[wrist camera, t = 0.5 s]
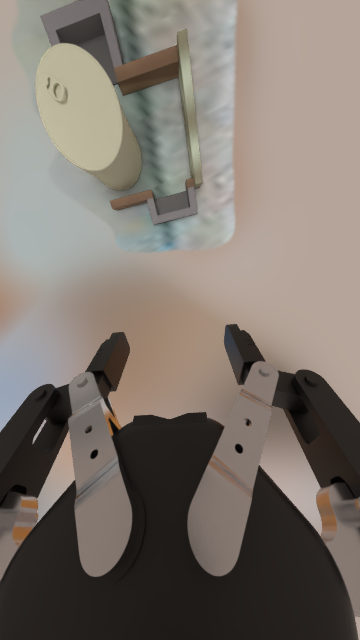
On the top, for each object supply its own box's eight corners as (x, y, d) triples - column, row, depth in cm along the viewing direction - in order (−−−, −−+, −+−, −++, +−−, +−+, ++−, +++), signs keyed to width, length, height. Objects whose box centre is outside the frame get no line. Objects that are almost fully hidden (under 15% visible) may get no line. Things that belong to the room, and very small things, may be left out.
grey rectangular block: (100, 97, 23) (43, -5, 13) (151, 151, 26) (136, 102, 16) (80, 162, 27) (22, 122, 17) (126, 202, 30) (101, 189, 20)
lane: (77, 97, 23) (60, 75, 20) (184, 60, 22) (186, 28, 18) (116, 210, 31) (109, 208, 27) (199, 187, 29) (202, 182, 26)
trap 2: (54, 37, 21) (40, 15, 18) (111, 15, 20) (104, -11, 18) (75, 98, 23) (65, 85, 21) (127, 80, 23) (122, 64, 20)
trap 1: (148, 201, 30) (146, 199, 28) (192, 189, 29) (194, 186, 27) (154, 224, 32) (153, 224, 30) (195, 214, 31) (197, 212, 29)
